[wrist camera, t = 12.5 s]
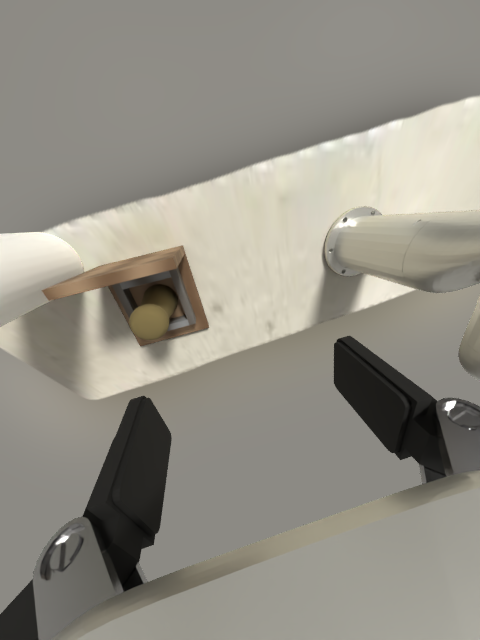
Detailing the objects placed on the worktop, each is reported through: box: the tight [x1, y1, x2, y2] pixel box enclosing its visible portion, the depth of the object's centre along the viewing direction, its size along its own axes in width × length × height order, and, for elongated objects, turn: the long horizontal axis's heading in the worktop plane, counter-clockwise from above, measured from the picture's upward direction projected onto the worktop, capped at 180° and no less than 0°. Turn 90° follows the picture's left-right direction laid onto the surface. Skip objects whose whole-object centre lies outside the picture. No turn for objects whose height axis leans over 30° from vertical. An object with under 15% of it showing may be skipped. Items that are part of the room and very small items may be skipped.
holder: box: [41, 246, 209, 346], centre depth 31 cm, size 14×16×14 cm
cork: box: [129, 284, 178, 340], centre depth 32 cm, size 6×6×11 cm
